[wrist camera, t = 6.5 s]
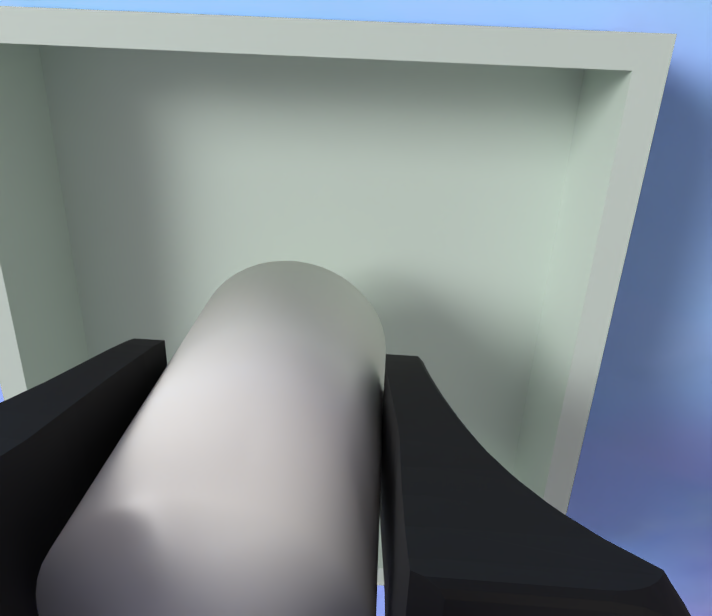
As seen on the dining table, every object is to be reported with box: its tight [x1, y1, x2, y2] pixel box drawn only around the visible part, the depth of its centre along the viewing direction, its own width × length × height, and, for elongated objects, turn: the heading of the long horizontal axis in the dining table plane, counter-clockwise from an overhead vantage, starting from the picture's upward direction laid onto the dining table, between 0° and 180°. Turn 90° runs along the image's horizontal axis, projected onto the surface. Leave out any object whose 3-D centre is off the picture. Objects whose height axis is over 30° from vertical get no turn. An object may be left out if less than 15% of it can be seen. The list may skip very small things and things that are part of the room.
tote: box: [0, 6, 677, 586], centre depth 15 cm, size 13×13×4 cm
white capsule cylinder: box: [36, 261, 386, 616], centre depth 11 cm, size 4×4×7 cm
